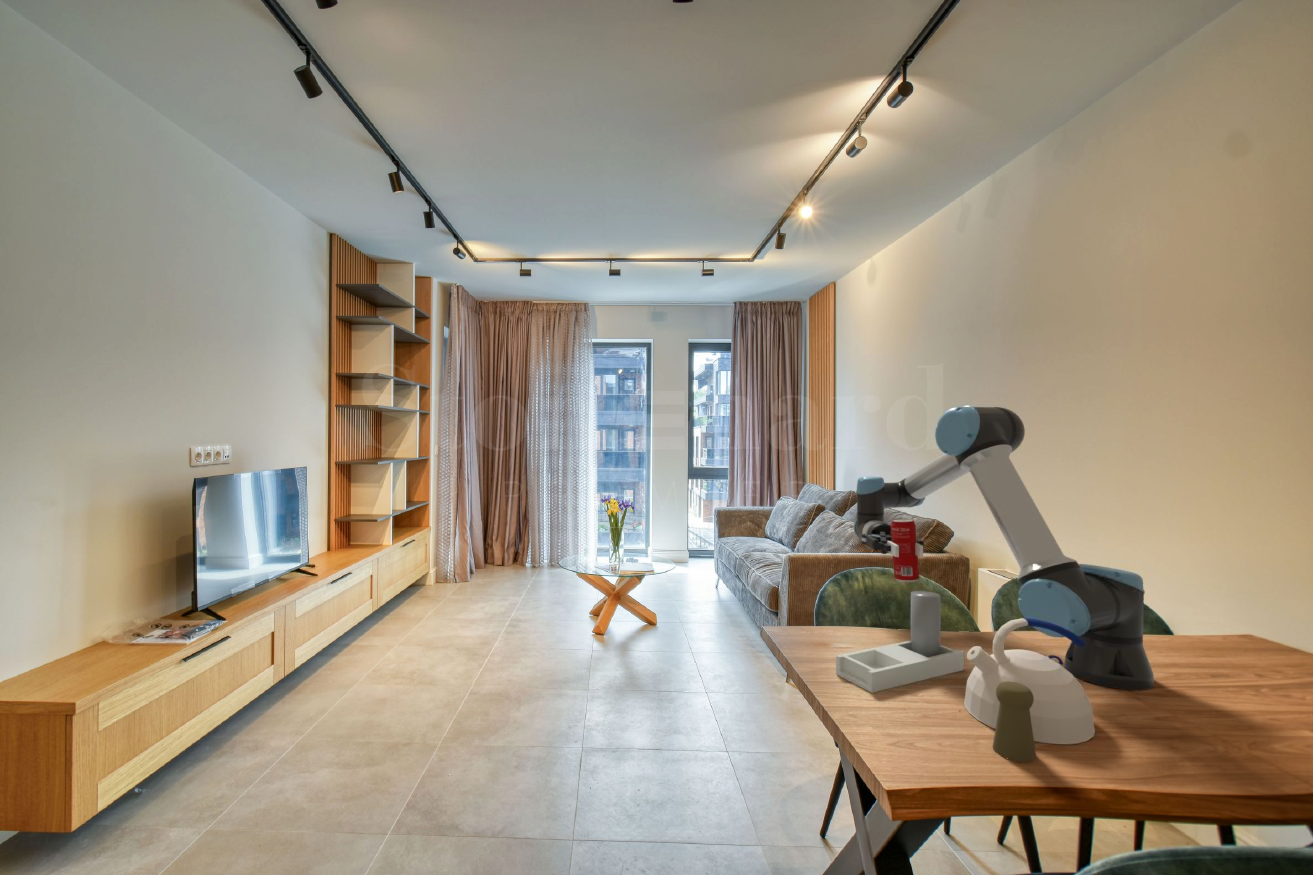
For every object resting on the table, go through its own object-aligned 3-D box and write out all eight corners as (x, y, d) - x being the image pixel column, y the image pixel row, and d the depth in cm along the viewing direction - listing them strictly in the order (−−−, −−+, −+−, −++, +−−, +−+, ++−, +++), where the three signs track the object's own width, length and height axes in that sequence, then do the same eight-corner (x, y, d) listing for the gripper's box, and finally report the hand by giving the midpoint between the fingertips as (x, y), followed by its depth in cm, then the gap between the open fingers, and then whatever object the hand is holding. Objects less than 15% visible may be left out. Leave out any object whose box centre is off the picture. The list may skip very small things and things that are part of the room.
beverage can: (923, 582, 143) (923, 521, 143) (898, 583, 142) (898, 521, 142) (911, 576, 149) (911, 517, 149) (886, 577, 148) (886, 517, 148)
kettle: (943, 690, 118) (944, 601, 118) (1050, 693, 117) (1051, 603, 117) (996, 743, 98) (997, 636, 98) (1125, 748, 97) (1126, 639, 97)
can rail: (925, 654, 138) (925, 586, 137) (963, 669, 129) (964, 596, 128) (836, 674, 126) (836, 599, 126) (871, 692, 117) (872, 612, 117)
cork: (984, 742, 98) (984, 677, 98) (1018, 741, 99) (1019, 676, 99) (1009, 763, 92) (1009, 693, 92) (1045, 761, 93) (1046, 692, 93)
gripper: (913, 549, 163) (948, 567, 140) (846, 548, 164) (870, 566, 141) (913, 522, 163) (948, 536, 140) (846, 521, 164) (870, 535, 141)
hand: (909, 551), depth 140 cm, fingers closed on beverage can, 5 cm apart
